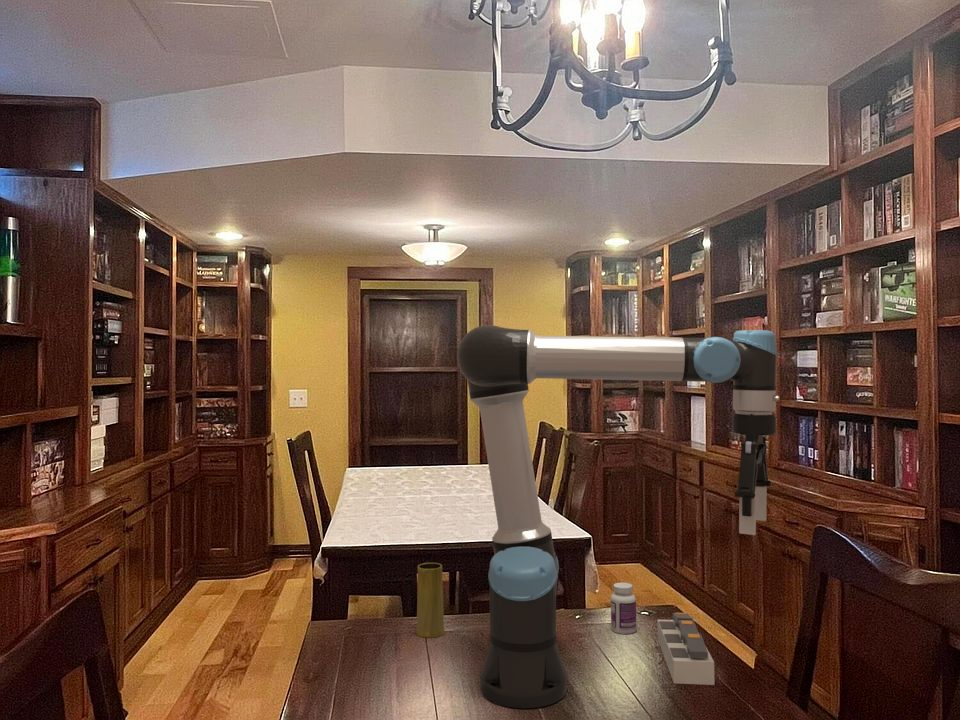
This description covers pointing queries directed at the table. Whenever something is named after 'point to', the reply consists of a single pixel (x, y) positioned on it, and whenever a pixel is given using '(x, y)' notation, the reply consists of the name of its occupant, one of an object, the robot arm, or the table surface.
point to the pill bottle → (623, 609)
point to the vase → (430, 601)
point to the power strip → (683, 657)
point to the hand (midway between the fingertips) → (753, 526)
